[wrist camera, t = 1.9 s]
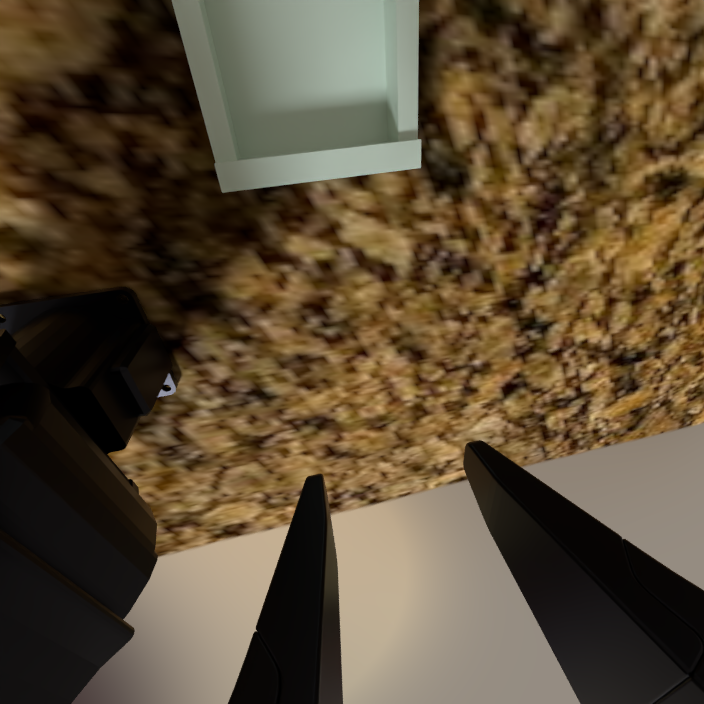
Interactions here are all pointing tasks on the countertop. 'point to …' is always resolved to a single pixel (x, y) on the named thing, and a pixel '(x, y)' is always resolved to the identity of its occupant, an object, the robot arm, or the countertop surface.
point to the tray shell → (304, 87)
